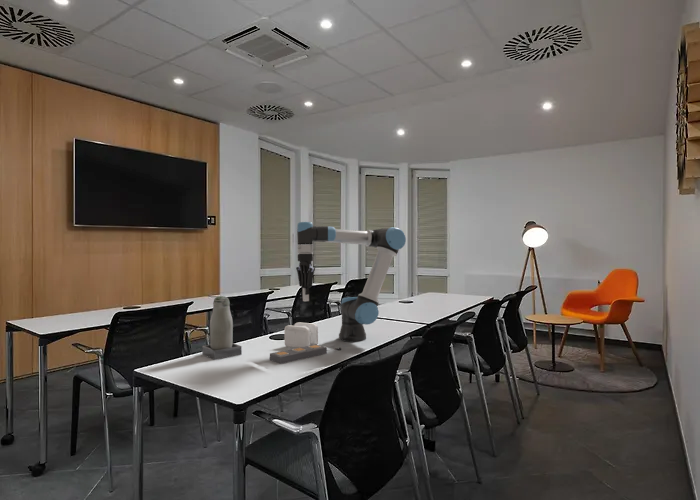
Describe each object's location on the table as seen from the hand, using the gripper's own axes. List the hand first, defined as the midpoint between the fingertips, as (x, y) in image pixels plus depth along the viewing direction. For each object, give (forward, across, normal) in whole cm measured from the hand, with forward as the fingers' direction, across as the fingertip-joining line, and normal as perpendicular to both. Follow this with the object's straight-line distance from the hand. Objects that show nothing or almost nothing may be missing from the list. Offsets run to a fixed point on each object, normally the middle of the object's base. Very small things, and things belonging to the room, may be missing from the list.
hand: (305, 301), depth 211 cm
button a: (+23, +11, -3) cm, 26 cm away
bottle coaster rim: (+24, -22, -34) cm, 47 cm away
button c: (+23, +11, -21) cm, 33 cm away
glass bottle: (+25, -22, -34) cm, 47 cm away
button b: (+23, +11, -12) cm, 28 cm away
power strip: (+24, +11, -6) cm, 27 cm away
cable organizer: (+25, -7, +2) cm, 26 cm away
